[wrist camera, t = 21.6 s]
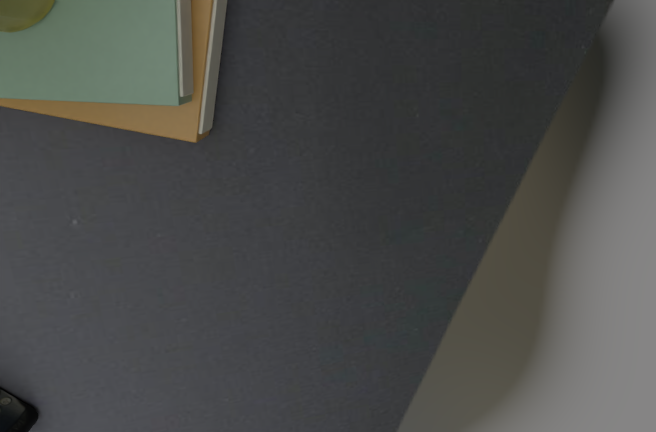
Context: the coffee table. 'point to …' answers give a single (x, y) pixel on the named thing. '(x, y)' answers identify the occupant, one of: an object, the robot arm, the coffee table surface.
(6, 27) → the vase
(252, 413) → the coffee table surface
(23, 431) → the mobile phone
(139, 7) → the book stack
